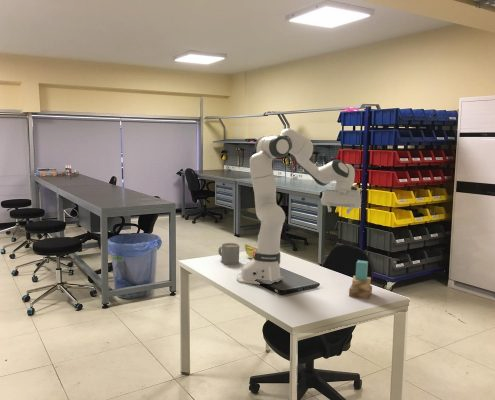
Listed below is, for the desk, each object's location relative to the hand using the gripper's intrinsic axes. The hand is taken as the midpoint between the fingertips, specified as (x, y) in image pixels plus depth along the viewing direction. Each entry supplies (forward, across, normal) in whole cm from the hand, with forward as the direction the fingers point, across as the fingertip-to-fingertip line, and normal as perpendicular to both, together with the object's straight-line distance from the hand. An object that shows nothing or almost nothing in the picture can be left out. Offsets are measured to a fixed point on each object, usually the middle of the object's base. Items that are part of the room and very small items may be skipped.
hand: (338, 212), depth 231 cm
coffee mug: (+22, -62, +26) cm, 71 cm away
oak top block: (+36, +16, +7) cm, 40 cm away
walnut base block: (+39, +16, +10) cm, 43 cm away
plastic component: (+12, -48, +37) cm, 62 cm away
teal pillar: (+33, +16, +5) cm, 37 cm away
